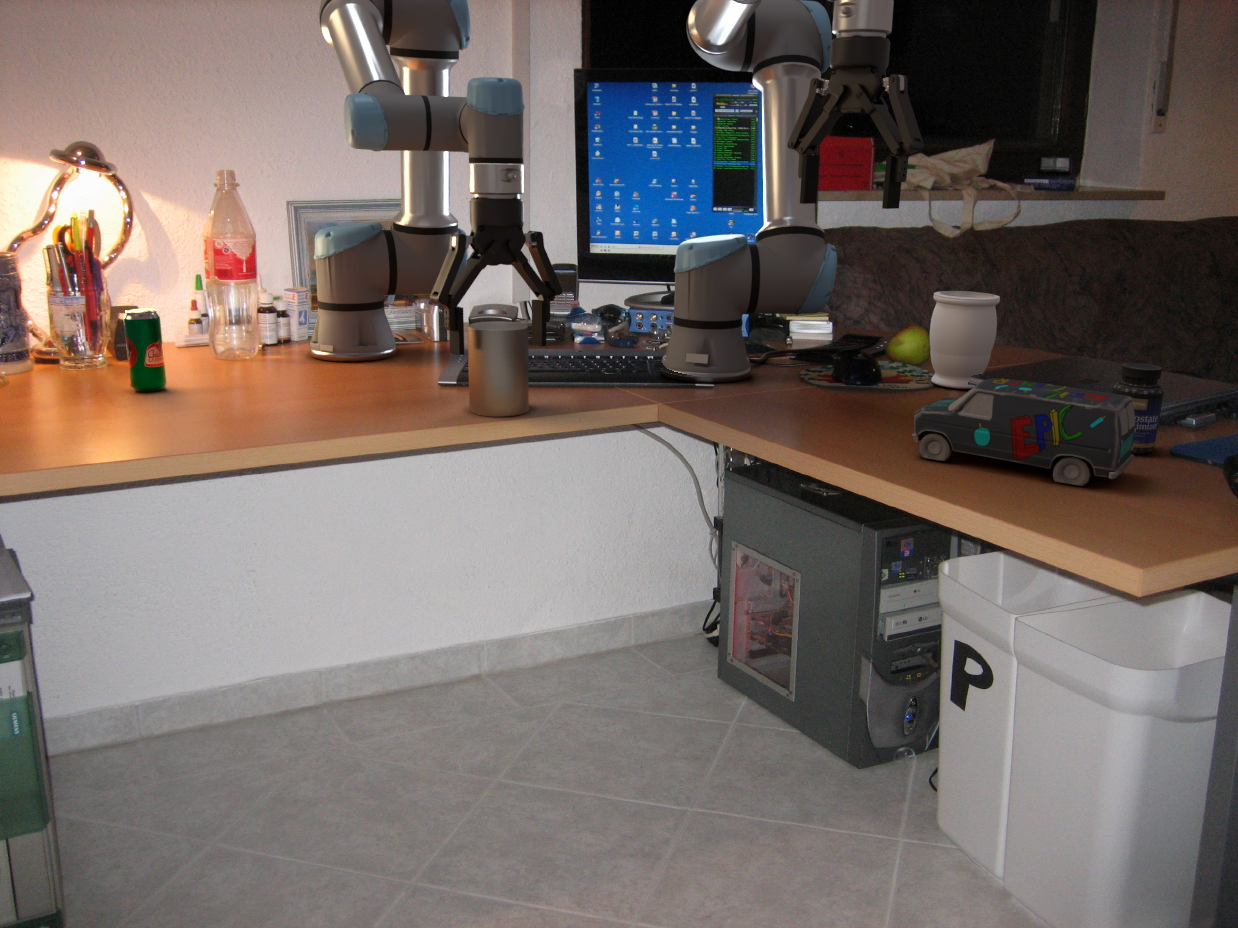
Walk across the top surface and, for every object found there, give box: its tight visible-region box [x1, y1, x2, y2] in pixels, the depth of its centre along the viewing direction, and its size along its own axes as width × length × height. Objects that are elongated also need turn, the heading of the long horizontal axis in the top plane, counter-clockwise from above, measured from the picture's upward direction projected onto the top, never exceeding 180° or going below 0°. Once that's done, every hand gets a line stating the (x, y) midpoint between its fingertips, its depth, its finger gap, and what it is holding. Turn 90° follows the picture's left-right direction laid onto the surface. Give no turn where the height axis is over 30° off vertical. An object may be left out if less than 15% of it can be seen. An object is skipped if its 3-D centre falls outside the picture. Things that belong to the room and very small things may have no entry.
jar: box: [929, 290, 1001, 390], centre depth 176 cm, size 11×10×15 cm
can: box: [467, 320, 530, 418], centre depth 154 cm, size 9×9×12 cm
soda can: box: [123, 308, 168, 392], centre depth 162 cm, size 5×5×12 cm
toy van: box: [911, 377, 1136, 487], centre depth 131 cm, size 11×25×10 cm, turn 54°
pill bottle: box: [1111, 362, 1165, 455], centre depth 139 cm, size 6×6×11 cm
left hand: (499, 349), depth 153 cm, fingers open, 13 cm apart
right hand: (847, 206), depth 144 cm, fingers open, 13 cm apart
